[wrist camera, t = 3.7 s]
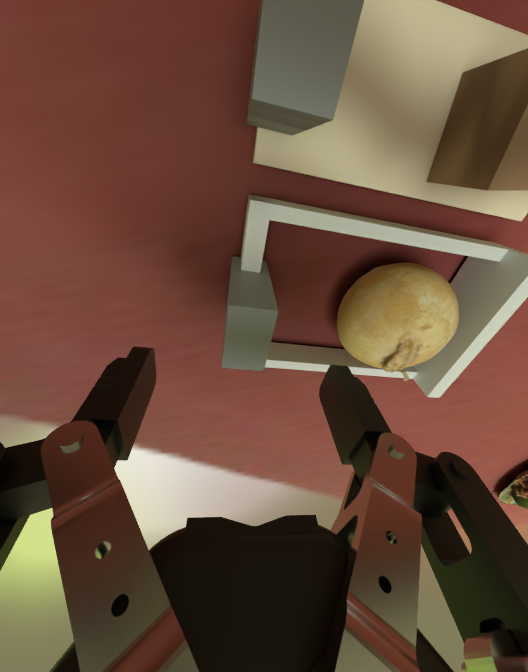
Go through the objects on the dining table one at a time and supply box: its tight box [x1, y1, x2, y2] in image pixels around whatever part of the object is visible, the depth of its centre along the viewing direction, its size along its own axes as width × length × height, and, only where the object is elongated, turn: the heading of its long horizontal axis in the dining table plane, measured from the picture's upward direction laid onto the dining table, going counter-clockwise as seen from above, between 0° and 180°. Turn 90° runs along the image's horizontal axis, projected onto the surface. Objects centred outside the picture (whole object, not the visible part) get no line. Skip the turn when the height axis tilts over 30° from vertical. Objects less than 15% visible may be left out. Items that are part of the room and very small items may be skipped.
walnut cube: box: [426, 48, 528, 191], centre depth 12 cm, size 4×4×4 cm
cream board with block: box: [247, 0, 528, 221], centre depth 11 cm, size 7×19×8 cm, turn 80°
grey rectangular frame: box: [222, 194, 528, 398], centre depth 17 cm, size 12×19×7 cm, turn 80°
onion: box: [337, 263, 459, 381], centre depth 18 cm, size 8×8×7 cm
